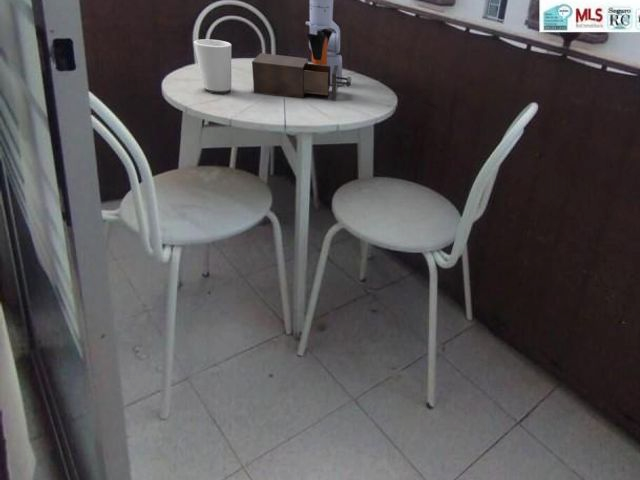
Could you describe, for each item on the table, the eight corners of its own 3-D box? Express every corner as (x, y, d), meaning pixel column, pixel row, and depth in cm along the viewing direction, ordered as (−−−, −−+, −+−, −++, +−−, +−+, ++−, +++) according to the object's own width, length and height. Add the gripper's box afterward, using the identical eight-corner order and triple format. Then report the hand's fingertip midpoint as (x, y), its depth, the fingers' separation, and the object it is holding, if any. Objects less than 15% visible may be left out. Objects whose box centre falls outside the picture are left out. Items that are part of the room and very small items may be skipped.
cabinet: (308, 87, 165) (307, 58, 160) (303, 98, 154) (302, 67, 149) (262, 82, 163) (260, 52, 158) (254, 92, 152) (251, 61, 147)
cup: (193, 91, 146) (186, 42, 138) (210, 84, 154) (205, 37, 146) (225, 97, 145) (220, 48, 137) (241, 90, 153) (237, 43, 145)
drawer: (351, 89, 166) (352, 67, 162) (349, 99, 156) (350, 75, 152) (295, 83, 164) (295, 60, 160) (290, 93, 154) (290, 68, 150)
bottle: (327, 62, 157) (327, 32, 152) (326, 65, 154) (326, 34, 149) (312, 60, 157) (312, 30, 152) (311, 63, 153) (310, 32, 148)
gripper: (312, 2, 152) (313, 52, 160) (298, 6, 140) (299, 60, 148) (335, 5, 152) (334, 55, 160) (323, 10, 140) (323, 63, 148)
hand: (319, 58), depth 154 cm, fingers closed on bottle, 4 cm apart
